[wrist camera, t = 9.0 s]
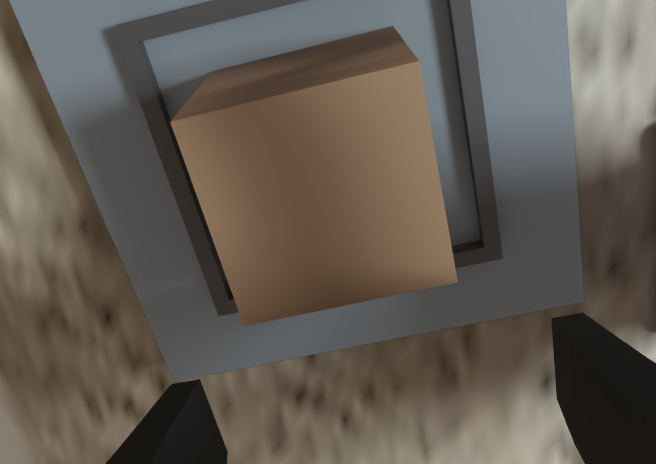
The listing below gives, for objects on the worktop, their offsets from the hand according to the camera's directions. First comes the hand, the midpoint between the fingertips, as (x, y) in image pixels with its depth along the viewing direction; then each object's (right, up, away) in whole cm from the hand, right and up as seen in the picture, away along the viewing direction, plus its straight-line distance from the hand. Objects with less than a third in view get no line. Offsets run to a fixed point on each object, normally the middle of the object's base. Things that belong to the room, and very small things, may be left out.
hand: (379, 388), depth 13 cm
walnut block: (-1, +6, +5) cm, 8 cm away
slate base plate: (-1, +6, +6) cm, 9 cm away
